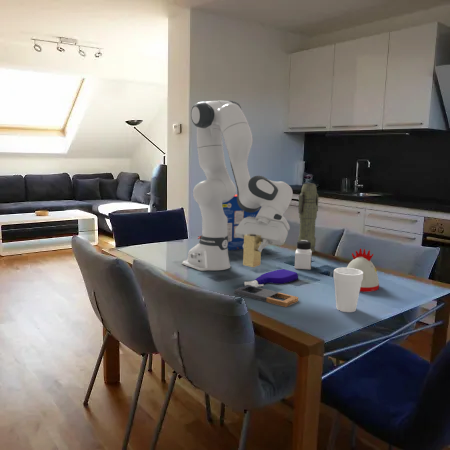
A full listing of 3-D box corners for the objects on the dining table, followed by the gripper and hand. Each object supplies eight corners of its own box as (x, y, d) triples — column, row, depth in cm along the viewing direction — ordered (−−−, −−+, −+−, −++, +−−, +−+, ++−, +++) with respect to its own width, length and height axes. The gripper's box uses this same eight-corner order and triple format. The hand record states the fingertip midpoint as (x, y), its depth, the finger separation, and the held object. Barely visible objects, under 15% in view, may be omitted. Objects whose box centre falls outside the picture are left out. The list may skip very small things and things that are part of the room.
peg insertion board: (234, 293, 169) (234, 289, 169) (247, 288, 175) (247, 284, 175) (286, 307, 156) (286, 302, 155) (298, 301, 162) (298, 297, 162)
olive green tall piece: (320, 251, 240) (323, 183, 234) (305, 254, 233) (308, 184, 227) (307, 248, 247) (310, 182, 241) (292, 250, 240) (294, 183, 234)
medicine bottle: (310, 269, 203) (312, 243, 201) (294, 268, 205) (295, 242, 203) (311, 265, 210) (312, 239, 208) (295, 264, 212) (296, 239, 210)
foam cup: (328, 304, 159) (330, 267, 157) (354, 303, 160) (356, 267, 158) (337, 314, 150) (339, 275, 148) (364, 313, 151) (367, 275, 148)
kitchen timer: (373, 294, 171) (376, 254, 169) (337, 287, 179) (339, 249, 176) (382, 284, 183) (385, 247, 180) (348, 279, 190) (350, 243, 188)
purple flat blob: (281, 267, 196) (238, 278, 180) (301, 273, 188) (258, 285, 172) (280, 274, 197) (238, 286, 181) (300, 280, 189) (258, 293, 173)
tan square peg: (242, 264, 167) (244, 234, 165) (250, 262, 171) (251, 233, 169) (253, 267, 164) (254, 236, 162) (260, 265, 168) (261, 234, 166)
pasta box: (252, 244, 254) (254, 193, 249) (260, 247, 247) (262, 195, 242) (206, 248, 242) (207, 195, 237) (213, 252, 235) (214, 197, 230)
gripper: (242, 210, 176) (225, 239, 170) (288, 217, 164) (271, 249, 158) (248, 221, 180) (232, 249, 175) (294, 228, 168) (278, 259, 162)
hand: (251, 249), depth 166 cm, fingers closed on tan square peg, 4 cm apart
